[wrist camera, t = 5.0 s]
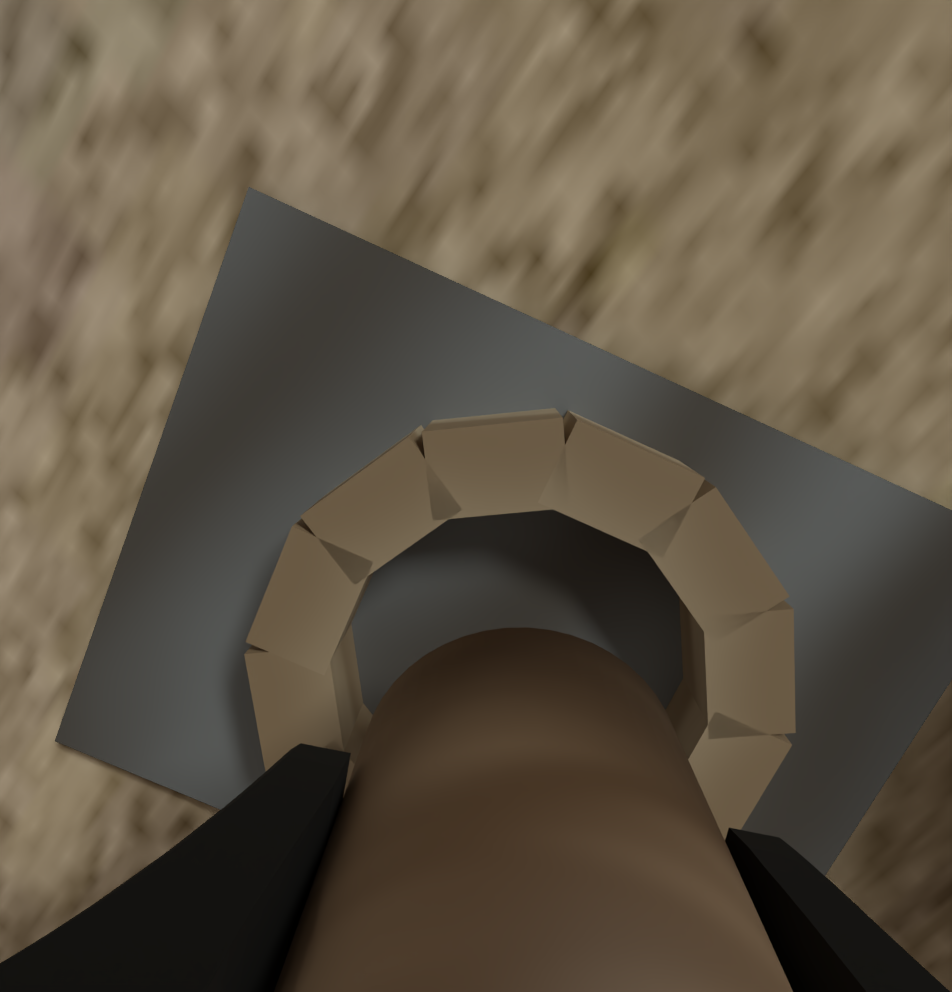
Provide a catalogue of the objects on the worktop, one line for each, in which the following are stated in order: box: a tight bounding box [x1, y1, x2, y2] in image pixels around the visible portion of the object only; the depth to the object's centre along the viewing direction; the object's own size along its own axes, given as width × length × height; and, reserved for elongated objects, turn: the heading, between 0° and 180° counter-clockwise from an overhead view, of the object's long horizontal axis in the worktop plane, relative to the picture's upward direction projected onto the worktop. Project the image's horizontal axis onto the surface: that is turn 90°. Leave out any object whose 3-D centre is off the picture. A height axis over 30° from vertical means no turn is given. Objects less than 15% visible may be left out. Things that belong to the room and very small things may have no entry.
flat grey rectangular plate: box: [55, 187, 952, 876], centre depth 14 cm, size 16×12×2 cm
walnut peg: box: [274, 627, 793, 992], centre depth 7 cm, size 4×4×6 cm
